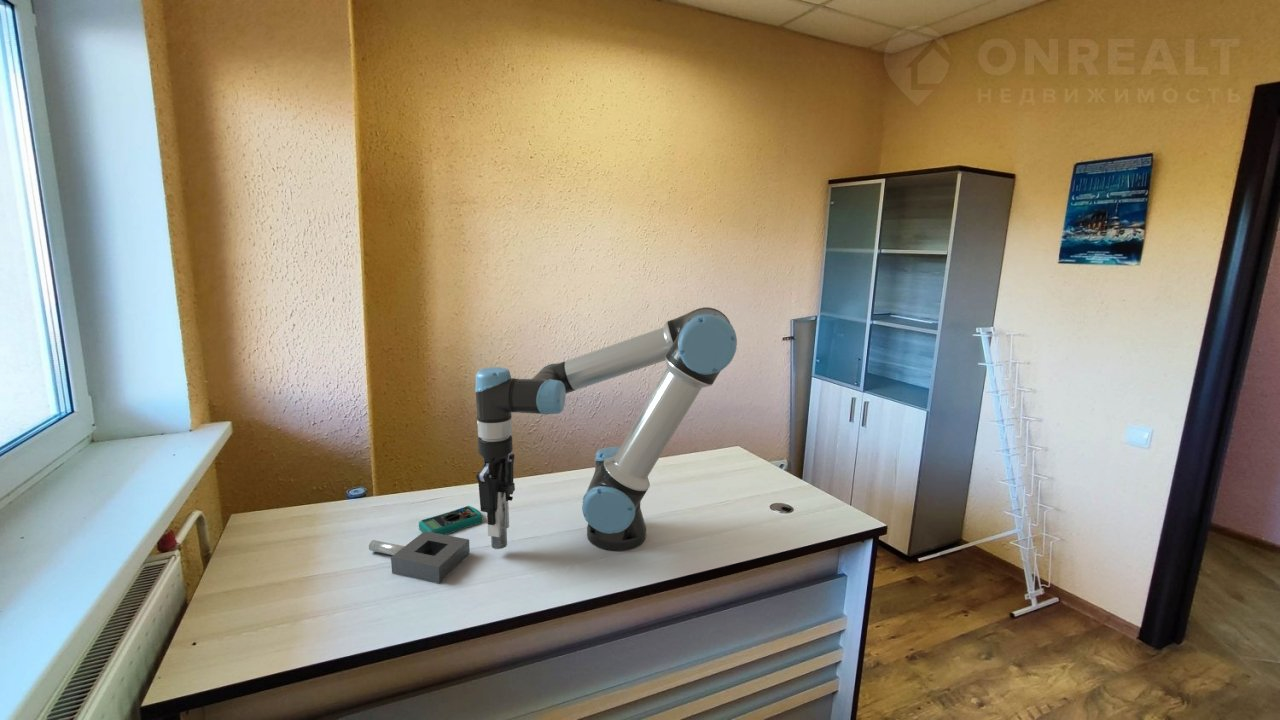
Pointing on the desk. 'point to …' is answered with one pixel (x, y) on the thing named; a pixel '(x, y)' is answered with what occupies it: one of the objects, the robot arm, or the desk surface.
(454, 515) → the digital multimeter
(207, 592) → the desk surface
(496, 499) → the robot arm
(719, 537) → the desk surface
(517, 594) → the desk surface
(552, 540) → the desk surface
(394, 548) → the block
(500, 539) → the t key
